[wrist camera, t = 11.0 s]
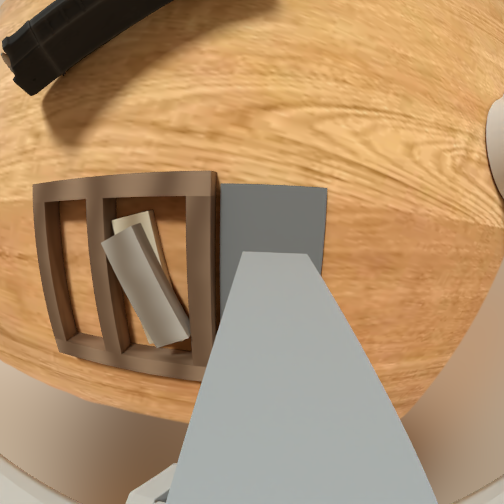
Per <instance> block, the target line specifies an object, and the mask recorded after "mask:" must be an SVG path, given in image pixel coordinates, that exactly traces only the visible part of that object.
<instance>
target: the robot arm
mask: <svg viewBox="0 0 504 504" xmlns="http://www.w3.org/2000/svg"><path fill="white" fill-rule="evenodd" d="M486 143H487V151H488V158H489V163H490V167H491V171H492V174H493V177H494V180H495V183H496V185H497V187H498V190H499V192H500V193H501V195H502V197H503V199H504V95H503V97H501V98H500V99H498V100H496V101H495V102H494V103H493V105H492V106H491V108H490V110H489V113H488V117H487V124H486ZM176 466H177V464H176V463H174V464H172V465H171V466H170V467H168V468H167V469H165V470H164V471H162V472H161V473H159V474H158V475H156V476H155V477H154V478H152V479H150V480H149V481H148V482H146V483H144V484H143V485H141V486H140V487H138V488H136V489H135V490H133V491H132V492H130V494H129V497H128V499H127V502H126V504H166V500H167V497H168V494H169V490H170V487H171V483H172V480H173V476H174V473H175V470H176ZM0 504H82V503H80V502H78V501H76V500H74V499H72V498H70V497H68V496H66V495H64V494H62V493H60V492H58V491H56V490H55V489H53V488H51V487H49V486H47V485H46V484H44V483H42V482H41V481H39V480H37V479H36V478H34V477H33V476H31V475H30V474H28V473H26V472H25V471H23V470H22V469H20V468H19V467H18V466H16V465H15V464H13V463H12V462H10V461H9V460H8V459H6V458H5V457H4V456H3V455H1V454H0ZM451 504H504V474H503V475H502V476H500V477H499V478H497V479H495V480H494V481H492V482H491V483H489V484H487V485H486V486H484V487H482V488H480V489H479V490H477V491H475V492H473V493H471V494H469V495H467V496H466V497H464V498H462V499H460V500H458V501H456V502H453V503H451Z"/></svg>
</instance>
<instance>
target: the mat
mask: <svg viewBox="0 0 504 504" xmlns="http://www.w3.org/2000/svg"><path fill="white" fill-rule="evenodd" d="M326 202H327V188H319V187H304V186H286V185H263V184H221V198H220V322H221V319H222V316H223V312H224V309H225V306H226V303H227V300H228V296H229V293H230V290H231V287H232V284H233V281H234V277H235V274H236V271H237V268H238V265H239V262H240V259H241V255H242V252H243V251H245V252H272V253H298V254H307V255H308V256H309V258H310V259H311V261H312V263H313V264H314V266H315V268H316V269H317V271H318V272H319V274H320V276H321V267H322V257H323V245H324V233H325V219H326Z"/></svg>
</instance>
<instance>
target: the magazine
mask: <svg viewBox="0 0 504 504" xmlns="http://www.w3.org/2000/svg"><path fill="white" fill-rule="evenodd" d="M171 1H173V0H56V1H54V2H53V3H51V4H50V5H49V6H47V7H46V8H45V9H44V10H42V11H41V12H40V13H38V14H37V15H36V16H35V17H33V18H32V19H31V20H30V21H29V20H28V21H27V22H26V23H25V24H24V25H23V26H22V27H21V28H20V29H19V30H18V31H17V32H16V33H14V34H13V35H12V36H10V37H6V38H5V39H4V40H3V41H2V47H3V50H4V52H5V53H6V54H5V53H1V56H2V58H3V60H4V62H5V63H6V64H7V65H8V67H9V68H10V70H11V71H12V72H13V73H14V74H15V77H14V78H13V81H14V82H15V83H16V84H17V85H18V86H20V87H21V88H22V89H23V90H24V91H25V92H27V93H28V94H29V95H30V96H32V95H35V94H37V93H38V92H39V91H41V90H42V89H43V88H44V87H46V86H47V85H48V84H50V83H51V82H52V81H53V80H55V79H56V78H57V77H59V76H60V75H61V74H62V75H63V76H64V75H65V74H66V73H65V71H66V70H68V69H69V68H70V67H72V66H73V65H74V64H76V63H77V62H78V61H80V60H81V59H82V58H84V57H85V56H87V55H88V54H89V53H91V52H92V51H94V50H95V49H97V48H98V47H100V46H101V45H103V44H104V43H106V42H107V41H109V40H110V39H112V38H113V37H115V36H116V35H118V34H119V33H121V32H122V31H124V30H126V29H127V28H129V27H130V26H132V25H133V24H135V23H136V22H138V21H140V20H141V19H143V18H144V17H146V16H148V15H149V14H151V13H152V12H154V11H156V10H157V9H159V8H161V7H163V6H164V5H166V4H168V3H169V2H171Z"/></svg>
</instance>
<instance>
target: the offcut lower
mask: <svg viewBox="0 0 504 504" xmlns="http://www.w3.org/2000/svg"><path fill="white" fill-rule="evenodd" d="M138 223H141V225H142V227H143V229H144V231H145V233H146V236H147V238H148V240H149V242H150V244H151V246H152V248H153V251H154V253H155V255H156V257H157V259H158V261H159V263H160V265H161V267H162V269H163V271H164V273H165V275H166V277H167V279H168V281H169V283H170V285H171V287H172V284H171V281H170V277H169V273H168V269H167V266H166V262H165V258H164V254H163V250H162V246H161V242H160V238H159V233H158V229H157V225H156V220H155V216H154V211H153V210H149V211H145V212H141V213H137V214H133V215H130V216H126V217H122V218H118V219H115V220H112V225H113V229H114V233H115V235H116V234H117V233H119V232H121V231H123V230H125V229H126V228H128V227H130V226H132V225H135V224H138ZM172 289H173V288H172ZM141 323H142V322H141ZM142 326H143V324H142ZM143 329H144V331H145V334H146V337H147V339H148V342H149V344H152V343H154V342H153V341H152V339H151V337H150V336H149V334H148V332H147V331H146V329H145V327H144V326H143ZM184 340H185V339H184ZM184 340H181V341H184Z"/></svg>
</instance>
